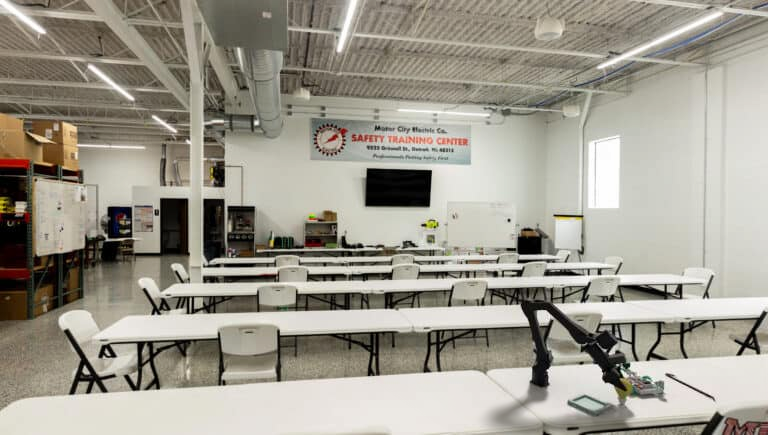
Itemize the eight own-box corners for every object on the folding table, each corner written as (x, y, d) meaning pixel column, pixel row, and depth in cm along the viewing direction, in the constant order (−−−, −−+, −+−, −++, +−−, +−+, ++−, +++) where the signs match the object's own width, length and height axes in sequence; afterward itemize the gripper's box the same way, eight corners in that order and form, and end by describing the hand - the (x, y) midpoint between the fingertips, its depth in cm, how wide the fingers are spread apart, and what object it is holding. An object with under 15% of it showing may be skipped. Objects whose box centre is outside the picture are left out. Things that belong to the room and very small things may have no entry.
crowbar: (661, 373, 202) (670, 372, 203) (661, 375, 202) (670, 374, 203) (714, 399, 175) (725, 399, 175) (714, 402, 175) (724, 401, 175)
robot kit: (625, 372, 204) (626, 354, 204) (671, 395, 180) (672, 374, 179) (593, 375, 200) (594, 356, 199) (636, 399, 175) (637, 378, 175)
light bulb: (626, 399, 173) (627, 376, 173) (634, 407, 166) (635, 383, 166) (609, 398, 174) (611, 375, 173) (617, 405, 167) (618, 381, 167)
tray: (567, 403, 169) (567, 399, 169) (584, 396, 176) (584, 393, 176) (595, 416, 159) (595, 412, 159) (612, 408, 166) (612, 405, 166)
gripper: (613, 351, 163) (643, 386, 158) (615, 339, 179) (643, 370, 174) (590, 366, 168) (619, 400, 162) (594, 353, 184) (621, 383, 178)
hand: (626, 387), depth 169 cm, fingers closed on light bulb, 7 cm apart
